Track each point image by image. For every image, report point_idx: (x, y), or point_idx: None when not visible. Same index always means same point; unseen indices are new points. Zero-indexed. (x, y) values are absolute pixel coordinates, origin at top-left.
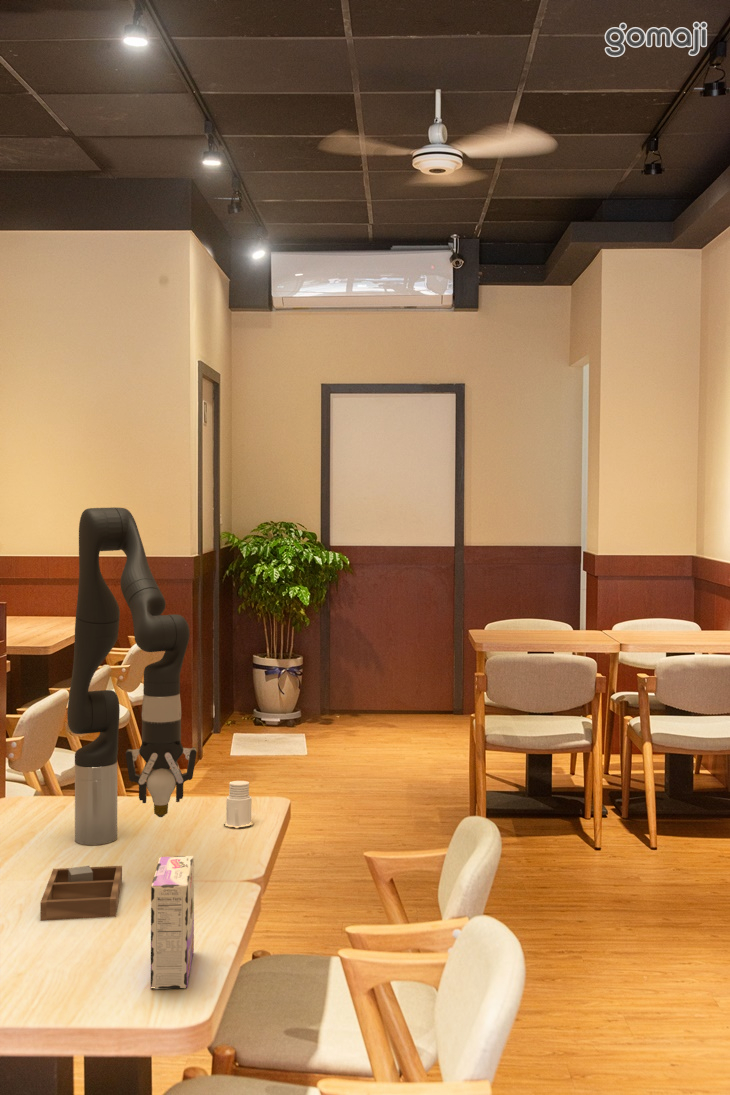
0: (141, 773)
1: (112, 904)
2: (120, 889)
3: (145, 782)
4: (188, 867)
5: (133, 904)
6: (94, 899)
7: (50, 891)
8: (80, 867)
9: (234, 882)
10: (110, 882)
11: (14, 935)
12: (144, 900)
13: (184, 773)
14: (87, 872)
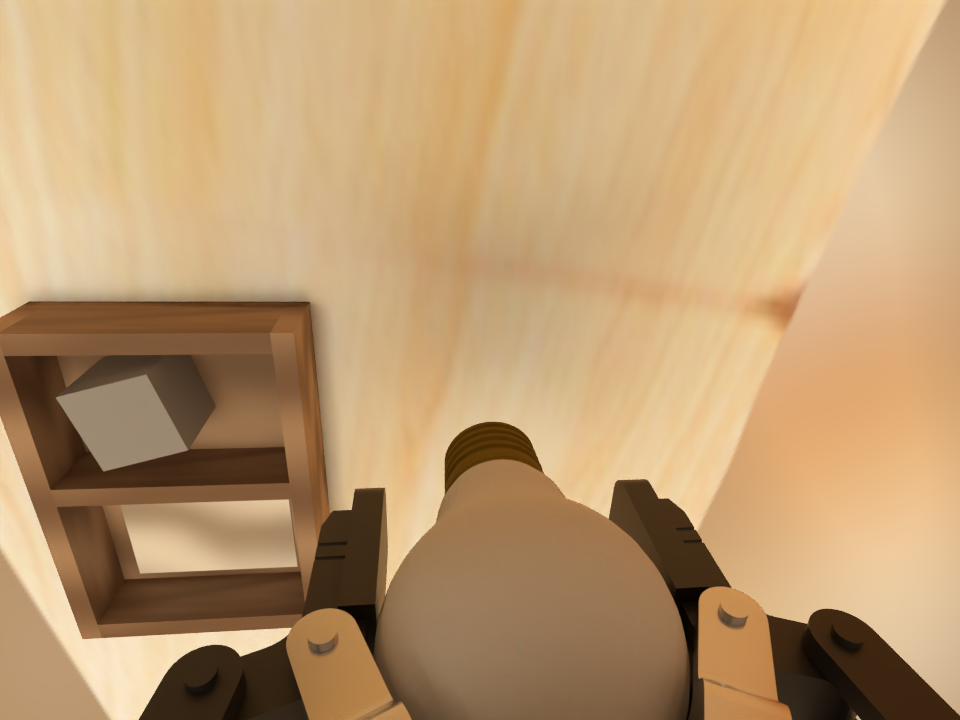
0: (306, 718)
1: None
2: (314, 390)
3: (366, 623)
4: None
5: (373, 469)
6: (258, 628)
7: (75, 556)
8: (112, 392)
9: (721, 319)
10: (280, 498)
11: (69, 633)
12: (406, 442)
13: (793, 682)
14: (165, 452)
